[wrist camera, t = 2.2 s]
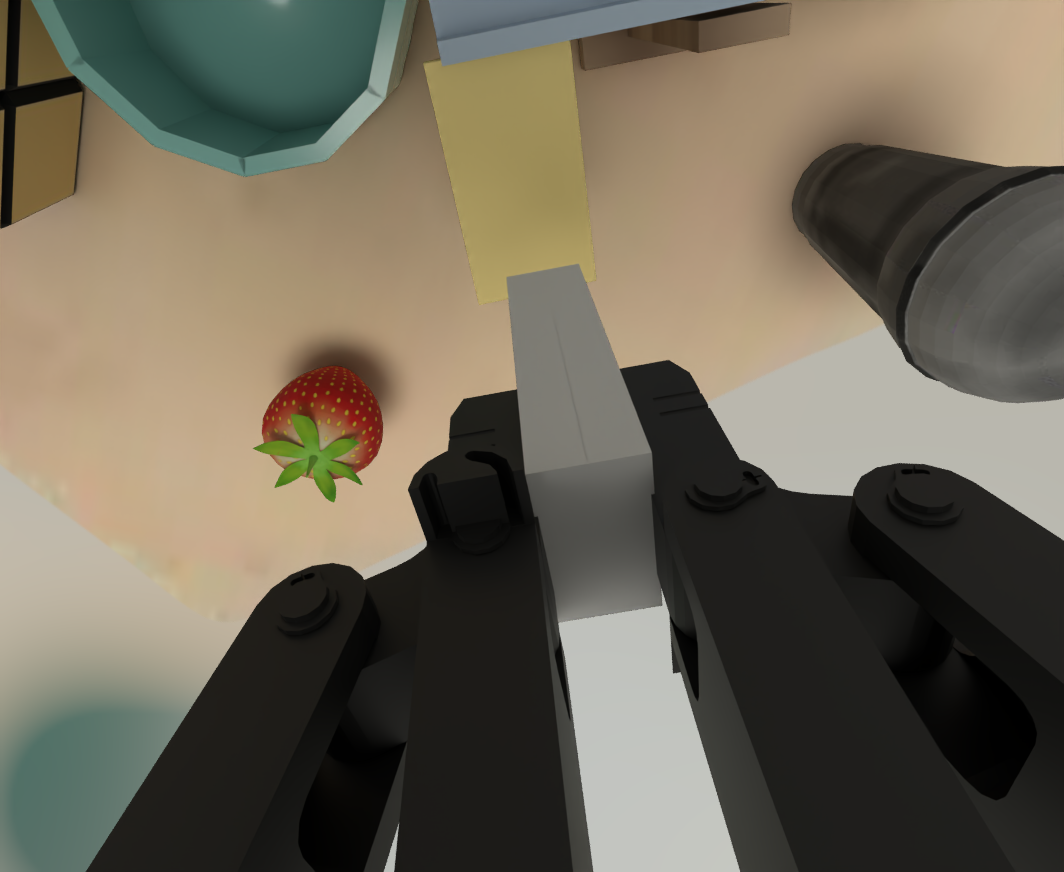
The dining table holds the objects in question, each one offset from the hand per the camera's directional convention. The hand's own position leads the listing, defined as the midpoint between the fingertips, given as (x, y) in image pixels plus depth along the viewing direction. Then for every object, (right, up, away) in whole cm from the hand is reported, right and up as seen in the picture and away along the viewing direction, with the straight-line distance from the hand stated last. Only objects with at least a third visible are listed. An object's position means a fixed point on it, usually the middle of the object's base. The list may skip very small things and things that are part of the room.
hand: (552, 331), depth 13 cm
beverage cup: (+14, +9, +16) cm, 23 cm away
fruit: (-11, +1, +20) cm, 23 cm away
